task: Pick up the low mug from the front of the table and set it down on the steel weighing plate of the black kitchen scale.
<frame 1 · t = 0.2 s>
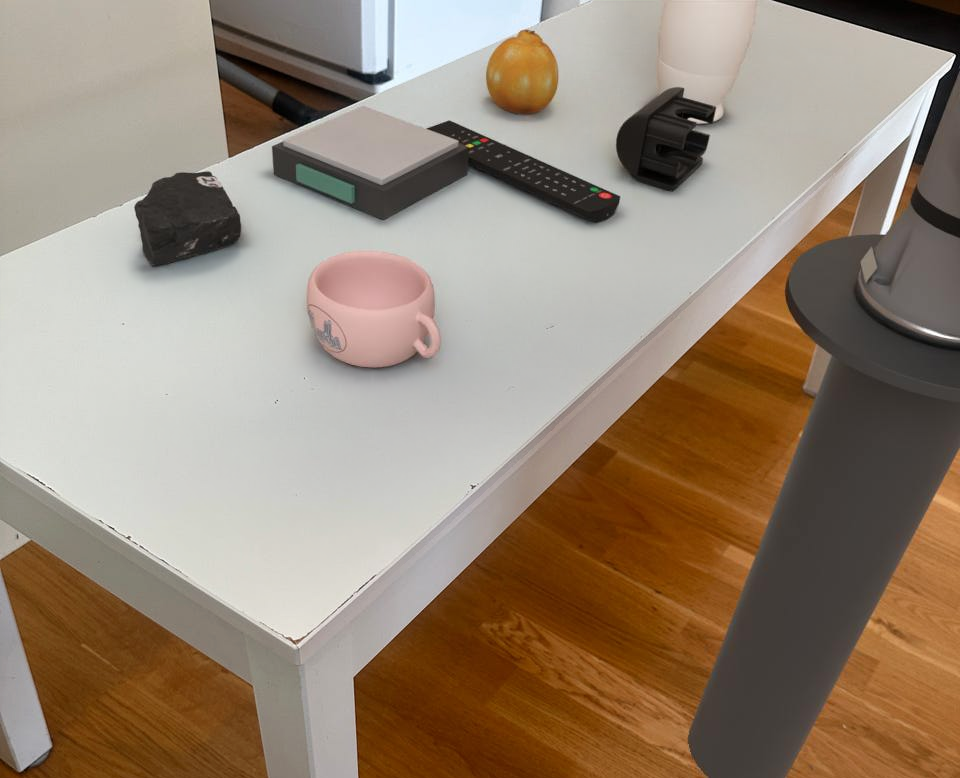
mug: (380, 354, 82), on the table
fruit: (519, 109, 118), on the table
jar: (687, 113, 122), on the table
scale: (372, 174, 104), on the table
rock: (192, 250, 91), on the table
remote control: (515, 179, 106), on the table
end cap: (657, 170, 110), on the table
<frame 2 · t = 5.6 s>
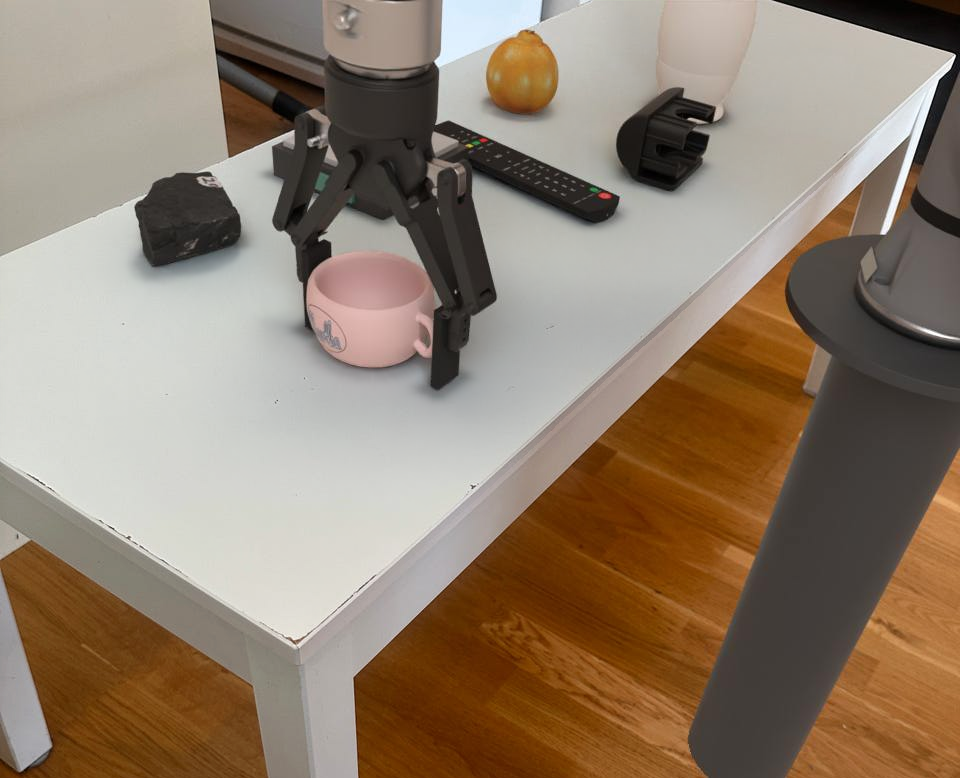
hand: (380, 350, 82), 0 cm above the table, tool pointing down, fingers closed on mug, 12 cm apart
mug: (380, 354, 82), on the table, touching gripper
everything else where it was.
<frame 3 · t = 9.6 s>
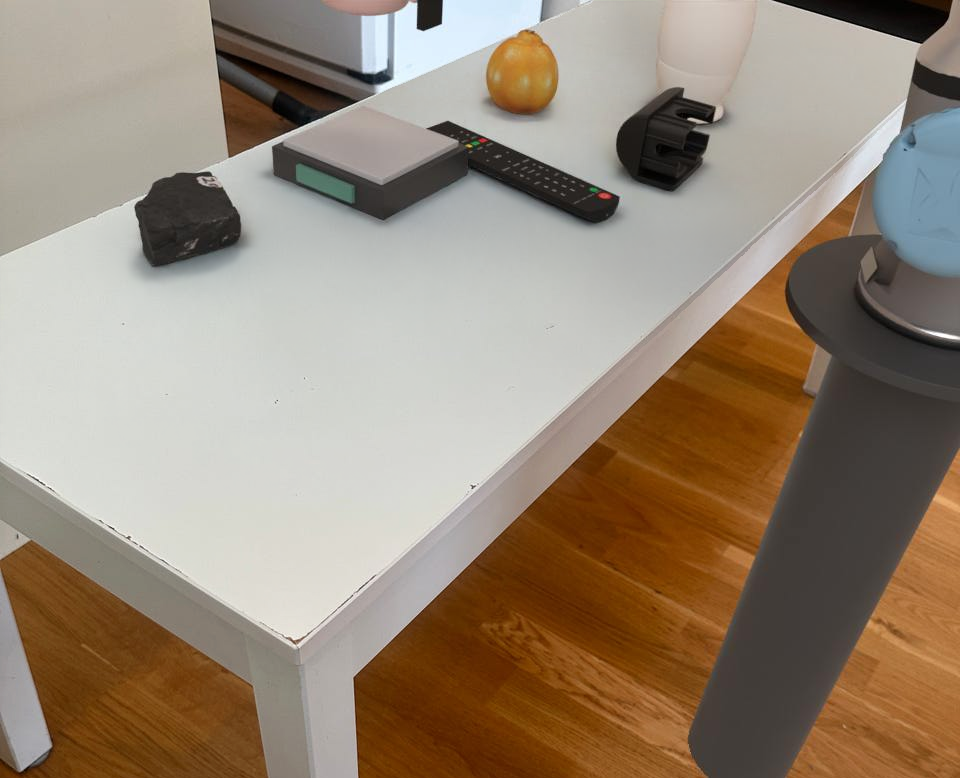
hand: (372, 8, 90), 16 cm above the table, tool pointing down, fingers closed on mug, 12 cm apart
mug: (372, 13, 91), point 15 cm above the table, touching gripper
everything else where it was.
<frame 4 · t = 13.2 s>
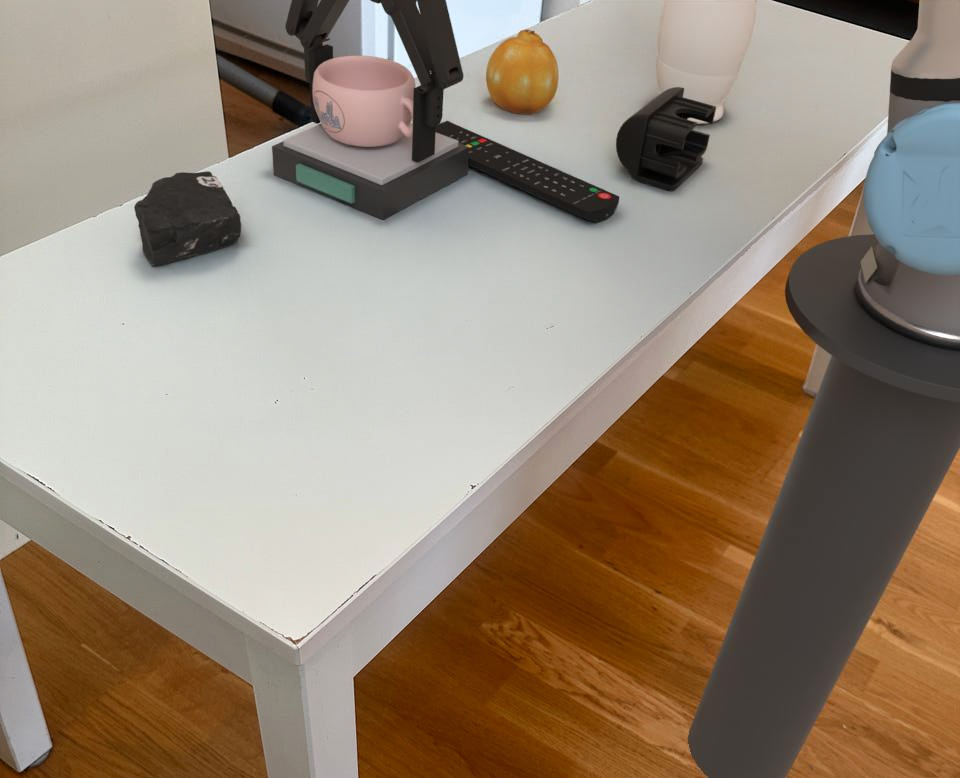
hand: (372, 138, 101), 4 cm above the table, tool pointing down, fingers closed on mug, 12 cm apart
mug: (372, 142, 101), point 3 cm above the table, touching gripper, scale
everything else where it was.
when the fingers open (4 cm above the table, at t = 13.7 s): mug stays where it is, resting on scale.
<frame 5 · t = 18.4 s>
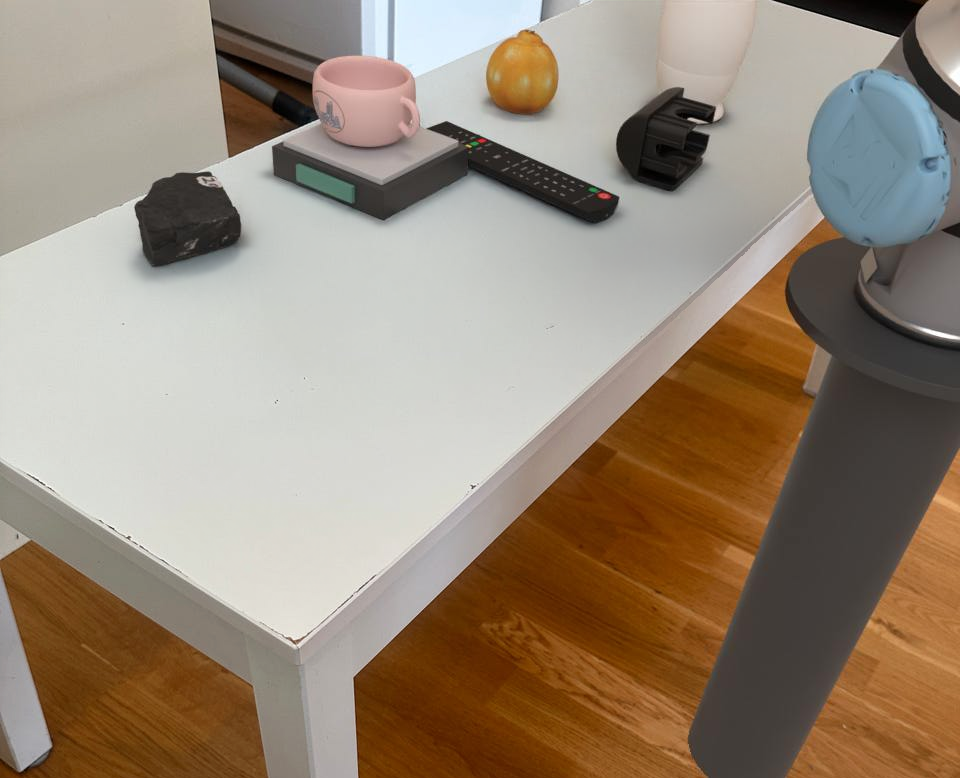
mug: (372, 142, 101), point 3 cm above the table, touching scale
everything else where it was.
at the end: mug inside the target area on the scale (0.0 cm from its centre), point 3.2 cm above the scale's base; mug tilted 0°; the gripper is holding nothing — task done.
